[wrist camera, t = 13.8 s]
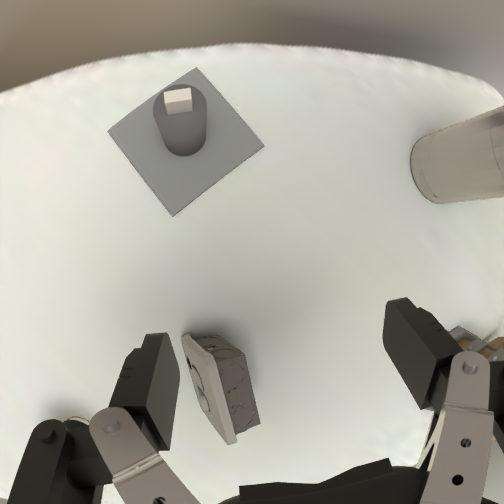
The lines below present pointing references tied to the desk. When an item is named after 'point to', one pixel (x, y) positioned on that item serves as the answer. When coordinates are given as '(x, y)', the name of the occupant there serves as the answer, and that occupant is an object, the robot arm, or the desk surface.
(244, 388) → the electrical switch
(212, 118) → the mat
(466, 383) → the robot arm
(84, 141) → the desk surface
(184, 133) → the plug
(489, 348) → the tankard
